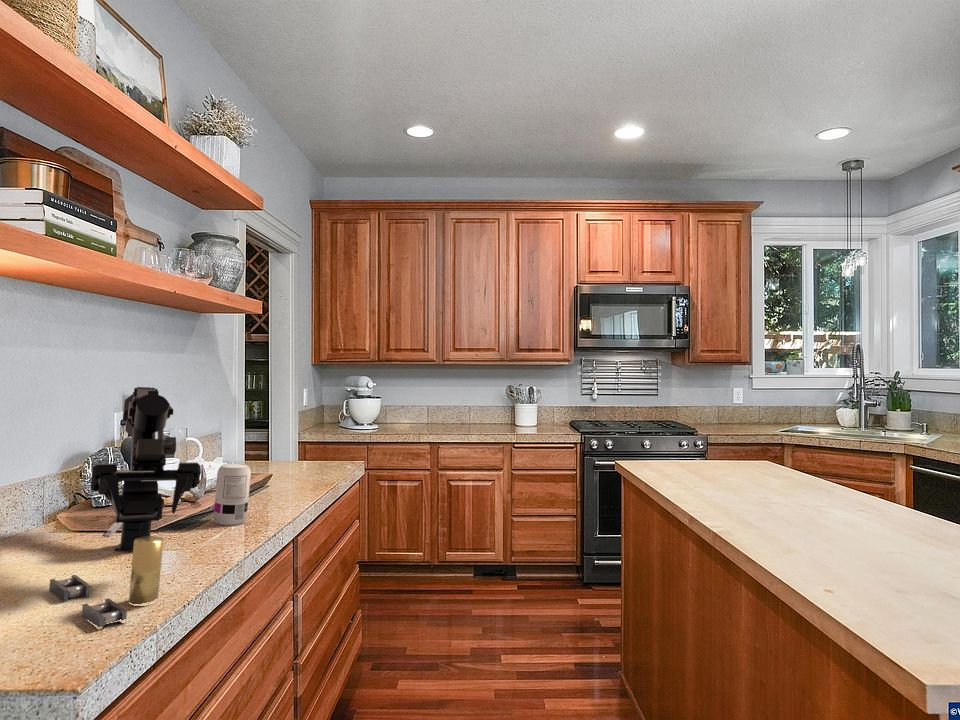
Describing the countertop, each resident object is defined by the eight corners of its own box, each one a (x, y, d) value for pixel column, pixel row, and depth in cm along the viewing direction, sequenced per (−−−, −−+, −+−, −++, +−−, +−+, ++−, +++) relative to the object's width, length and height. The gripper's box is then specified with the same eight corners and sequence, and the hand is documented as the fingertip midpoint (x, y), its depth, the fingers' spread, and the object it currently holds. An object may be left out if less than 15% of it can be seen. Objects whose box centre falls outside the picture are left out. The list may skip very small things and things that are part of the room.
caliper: (137, 515, 162) (139, 492, 162) (141, 515, 162) (143, 492, 162) (104, 537, 142) (106, 510, 142) (109, 537, 142) (111, 510, 142)
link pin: (133, 596, 110) (139, 535, 110) (161, 596, 111) (166, 536, 111) (124, 606, 106) (130, 543, 106) (153, 606, 107) (158, 543, 107)
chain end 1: (49, 590, 110) (50, 579, 110) (74, 585, 113) (75, 574, 113) (63, 602, 105) (64, 590, 105) (89, 596, 109) (90, 585, 109)
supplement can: (206, 523, 159) (211, 465, 159) (226, 516, 167) (231, 461, 167) (233, 527, 157) (238, 469, 157) (252, 520, 165) (257, 465, 165)
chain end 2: (81, 616, 101) (82, 604, 101) (107, 610, 104) (109, 598, 104) (98, 630, 96) (99, 617, 96) (125, 623, 100) (126, 611, 100)
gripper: (96, 421, 115) (90, 492, 106) (203, 423, 125) (207, 488, 116) (93, 456, 122) (87, 525, 112) (195, 455, 132) (197, 519, 122)
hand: (146, 513), depth 115 cm, fingers open, 9 cm apart
